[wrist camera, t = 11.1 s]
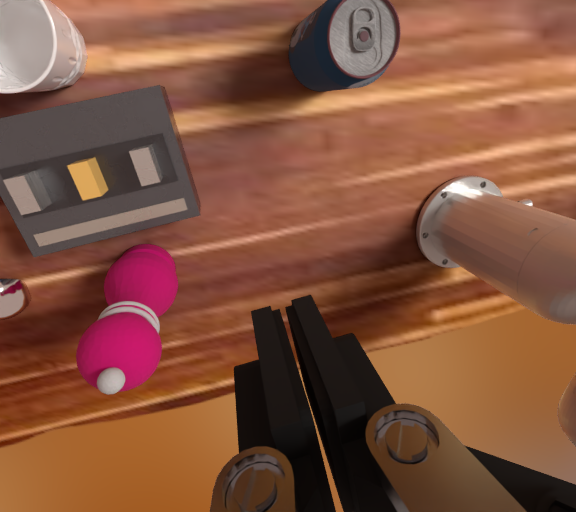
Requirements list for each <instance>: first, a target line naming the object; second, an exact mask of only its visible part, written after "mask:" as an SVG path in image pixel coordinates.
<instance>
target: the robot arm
mask: <svg viewBox="0 0 576 512" xmlns="http://www.w3.org/2000/svg"><path fill="white" fill-rule="evenodd" d="M416 238H417V243H418V246H419V248H420V250H421V252H422V253H423V255H424V256H425V257H426V258H427V259H429V260H430V261H431V262H433V263H434V264H436V265H438V266H441V267H446V268H456V267H463V268H464V269H466V270H467V271H469V272H471V273H472V274H474V275H475V276H477V277H479V278H480V279H482V280H483V281H485V282H487V283H488V284H490V285H491V286H493V287H494V288H496V289H498V290H499V291H501V292H502V293H504V294H506V295H507V296H509V297H510V298H512V299H514V300H515V301H517V302H518V303H520V304H522V305H523V306H525V307H526V308H528V309H530V310H531V311H533V312H535V313H536V314H538V315H540V316H541V317H543V318H545V319H548V320H551V321H554V322H559V323H563V324H576V220H574V219H571V218H568V217H564V216H561V215H558V214H555V213H552V212H548V211H545V210H542V209H539V208H536V207H532V201H531V200H530V199H524V200H521V201H518V202H516V201H513V200H510V199H507V198H503V195H502V193H501V191H500V190H499V188H498V187H497V186H496V185H495V184H494V183H493V182H491V181H489V180H488V179H485V178H482V177H478V176H472V175H471V176H461V177H457V178H454V179H452V180H450V181H448V182H446V183H445V184H443V185H442V186H440V187H439V188H438V189H437V190H436V191H435V192H434V193H433V194H432V195H431V196H430V197H429V198H428V200H427V201H426V203H425V204H424V206H423V208H422V210H421V212H420V215H419V218H418V222H417V227H416ZM285 308H286V312H287V317H288V321H289V325H290V329H291V333H292V337H293V341H294V345H295V349H296V353H297V357H298V361H299V365H300V369H301V374H302V377H303V382H304V385H305V389H306V393H307V396H308V399H309V402H310V406H311V409H312V412H313V415H314V418H315V422H316V425H317V428H318V431H319V434H320V437H321V440H322V444H323V447H324V450H325V454H326V456H327V460H328V463H329V466H330V469H331V473H332V476H333V479H334V482H335V485H336V488H337V492H338V495H339V498H340V501H341V504H342V508H343V511H344V512H576V485H575V484H572V483H569V482H566V481H564V480H561V479H558V478H555V477H552V476H549V475H547V474H544V473H541V472H538V471H535V470H532V469H530V468H527V467H524V466H521V465H518V464H515V463H512V462H510V461H507V460H504V459H501V458H498V457H496V456H493V455H490V454H487V453H484V452H481V451H479V450H476V449H473V448H470V447H467V446H464V445H463V444H462V443H461V442H460V441H459V440H458V438H457V437H456V436H455V435H454V434H453V433H452V432H451V431H450V430H449V429H448V428H447V427H446V426H445V425H444V424H443V423H442V421H440V419H439V418H437V417H436V416H435V415H434V414H432V413H431V412H430V411H428V410H426V409H424V408H422V407H419V406H416V405H411V404H396V403H395V401H394V400H393V398H392V396H391V395H390V393H389V391H388V390H387V388H386V386H385V385H384V383H383V381H382V380H381V378H380V376H379V375H378V373H377V372H376V370H375V368H374V367H373V365H372V363H371V362H370V360H369V358H368V357H367V355H366V353H365V352H364V350H363V348H362V347H361V345H360V343H359V342H358V340H357V338H356V337H355V335H354V334H353V333H350V334H346V335H343V336H339V337H336V338H332V336H331V334H330V332H329V330H328V328H327V326H326V324H325V322H324V320H323V318H322V316H321V314H320V312H319V310H318V308H317V306H316V304H315V302H314V300H313V298H312V296H311V295H308V296H304V297H301V298H297V299H294V300H292V306H288V307H285ZM251 314H252V320H253V326H254V332H255V338H256V344H257V350H258V356H259V360H256V361H252V362H249V363H245V364H242V365H238V366H235V367H234V381H235V397H236V411H237V412H236V413H237V428H238V445H239V454H237V455H236V456H234V457H233V458H232V459H231V460H230V461H229V462H228V463H227V464H226V465H225V466H224V467H223V469H222V470H221V472H220V473H219V475H218V477H217V479H216V482H215V486H214V489H213V495H212V501H211V507H210V512H336V511H335V506H334V502H333V498H332V494H331V490H330V486H329V482H328V478H327V474H326V470H325V466H324V462H323V458H322V454H321V450H320V445H319V441H318V437H317V433H316V429H315V425H314V421H313V418H312V414H311V410H310V407H309V404H308V401H307V397H306V394H305V391H304V388H303V384H302V381H301V378H300V375H299V371H298V368H297V365H296V361H295V358H294V355H293V352H292V348H291V345H290V342H289V339H288V335H287V332H286V329H285V326H284V322H283V319H282V316H281V313H280V309H277V310H274V311H272V310H271V307H270V306H268V307H265V308H261V309H257V310H254V311H251ZM558 419H559V423H560V426H561V427H562V430H563V431H564V433H565V434H566V436H567V437H568V438H569V440H570V441H571V442H572V443H573V444H574V445H575V446H576V373H575V375H574V376H573V378H572V379H571V381H570V383H569V385H568V387H567V388H566V390H565V392H564V394H563V396H562V397H561V399H560V402H559V405H558Z"/></svg>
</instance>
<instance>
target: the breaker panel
mask: <svg viewBox="0 0 576 512" xmlns="http://www.w3.org/2000/svg"><path fill="white" fill-rule="evenodd" d="M93 157H95V158H96V161H97V163H98V165H99V168H100V170H101V173H102V175H103V178H104V180H105V182H106V185H107V187H108V191H107V192H106V193H105V194H103V195H102V196H100V197H96V198H91V199H87V200H82V198H81V196H80V193H79V191H78V189H77V187H76V184H75V182H74V180H73V178H72V176H71V173H70V171H69V169H68V167H67V165H69V164H72V163H74V162H76V161H80V160H84V159H89V158H93ZM0 196H1V198H2V200H3V201H4V203H5V205H6V207H7V209H8V211H9V212H10V214H11V216H12V218H13V220H14V222H15V223H16V225H17V227H18V229H19V231H20V233H21V235H22V236H23V238H24V240H25V242H26V244H27V246H28V247H29V249H30V251H31V253H32V255H33V257H37V256H41V255H45V254H49V253H53V252H57V251H61V250H65V249H69V248H72V247H76V246H80V245H84V244H88V243H92V242H96V241H100V240H104V239H108V238H112V237H116V236H120V235H124V234H128V233H132V232H136V231H140V230H144V229H148V228H152V227H155V226H159V225H163V224H167V223H171V222H175V221H179V220H183V219H187V218H191V217H195V216H199V215H200V200H199V197H198V194H197V190H196V187H195V184H194V181H193V177H192V174H191V171H190V168H189V164H188V161H187V158H186V155H185V151H184V148H183V145H182V142H181V138H180V135H179V132H178V129H177V125H176V122H175V119H174V116H173V112H172V109H171V106H170V103H169V100H168V96H167V93H166V90H165V87H163V86H160V85H158V86H153V87H148V88H143V89H138V90H134V91H129V92H124V93H119V94H114V95H110V96H105V97H100V98H95V99H90V100H86V101H81V102H76V103H71V104H66V105H62V106H57V107H52V108H47V109H42V110H37V111H33V112H28V113H23V114H18V115H13V116H9V117H4V118H0Z"/></svg>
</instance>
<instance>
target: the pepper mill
mask: <svg viewBox="0 0 576 512" xmlns="http://www.w3.org/2000/svg"><path fill="white" fill-rule="evenodd" d="M175 272H176V268H175V263H174V261H173V258H172V257H171V256H170V254H169V253H168V252H167V251H166V250H164V249H162V248H161V247H158V246H156V245H151V244H141V245H136V246H134V247H132V248H130V249H128V250H127V251H126V252H125V253H124V254H123V255H122V257H121V258H119V259H118V260H117V261H116V262H115V263H113V265H112V266H111V267H110V269H109V270H108V272H107V275H106V278H105V282H104V293H105V298H106V301H107V303H108V305H109V307H107V308H106V309H105V310H104V311H103V312H102V313H101V314H100V316H99V318H98V320H97V321H96V322H94V323H93V324H92V325H91V326H89V327H88V328H87V330H86V331H85V332H84V334H83V335H82V337H81V339H80V341H79V344H78V348H77V353H76V359H77V366H78V369H79V371H80V373H81V375H82V377H83V378H84V379H85V380H86V381H87V382H88V383H89V384H91V385H92V386H94V387H96V388H97V389H99V390H100V391H101V392H103V393H105V394H114V393H116V392H120V391H127V390H130V389H133V388H135V387H137V386H139V385H141V384H142V383H144V382H145V381H146V380H147V379H148V378H149V377H150V376H151V375H152V374H153V372H154V371H155V370H156V368H157V366H158V363H159V360H160V358H161V352H162V345H161V339H160V336H159V334H158V333H159V320H158V317H159V316H161V315H162V314H164V313H165V312H166V311H167V310H168V308H169V307H170V306H171V305H172V303H173V301H174V299H175V296H176V293H177V290H178V280H177V275H176V273H175Z"/></svg>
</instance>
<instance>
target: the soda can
mask: <svg viewBox="0 0 576 512" xmlns="http://www.w3.org/2000/svg"><path fill="white" fill-rule="evenodd" d="M399 42H400V23H399V18H398V15H397V12H396V10H395V8H394V6H393V5H392V3H391V2H390V1H389V0H327V1H326V2H325V3H324V4H322V5H321V6H320V7H319V8H317V9H316V10H315V11H314V12H313V13H311V14H310V15H309V16H308V17H306V18H305V19H304V20H303V21H302V22H301V23H300V24H299V25H298V26H297V27H296V29H295V31H294V32H293V35H292V37H291V40H290V44H289V61H290V65H291V68H292V71H293V73H294V75H295V76H296V78H297V79H298V80H299V82H300V83H301V84H303V85H304V86H305V87H307V88H309V89H311V90H314V91H321V92H322V91H332V90H341V89H350V88H359V87H363V86H366V85H368V84H370V83H372V82H374V81H375V80H377V79H378V78H379V77H380V76H381V75H382V74H383V73H384V71H385V70H386V69H387V67H388V66H389V64H390V63H391V61H392V60H393V58H394V57H395V55H396V52H397V50H398V47H399Z"/></svg>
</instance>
